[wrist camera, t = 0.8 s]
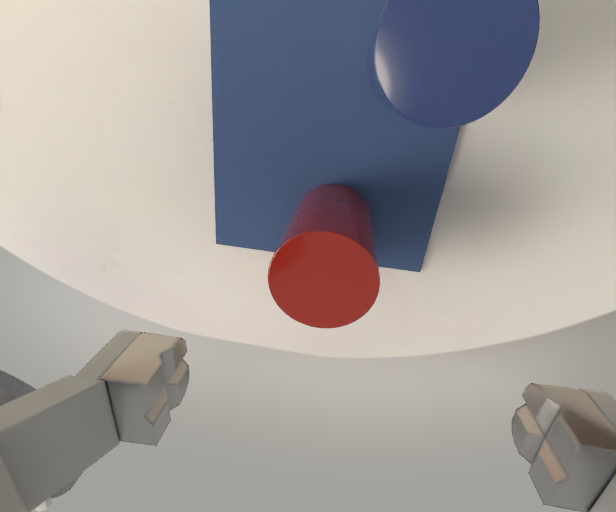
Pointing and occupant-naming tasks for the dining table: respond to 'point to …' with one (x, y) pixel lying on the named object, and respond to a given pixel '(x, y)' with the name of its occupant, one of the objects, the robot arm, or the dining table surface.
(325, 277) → the red canister
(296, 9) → the blue mat
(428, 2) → the blue canister
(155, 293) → the dining table surface
